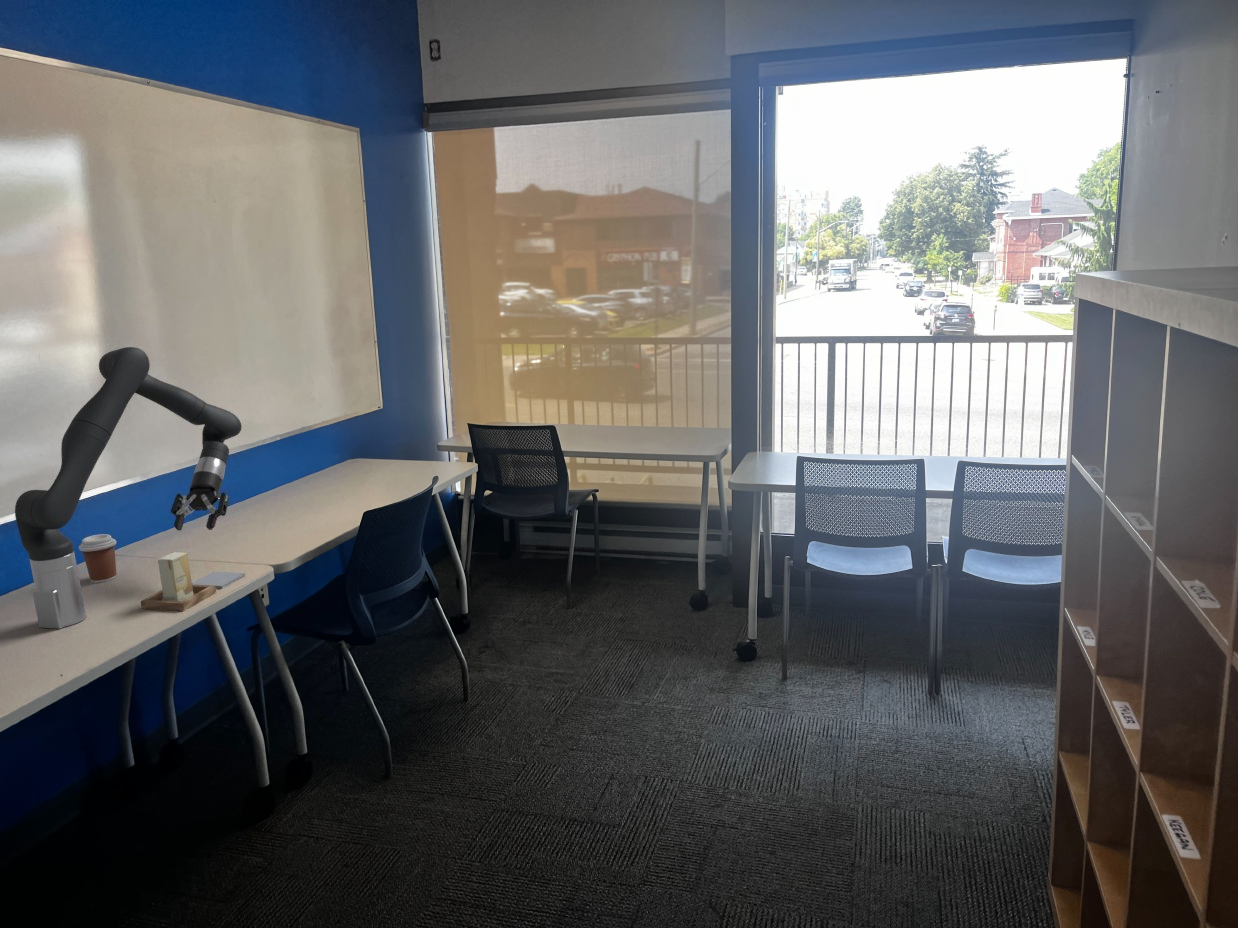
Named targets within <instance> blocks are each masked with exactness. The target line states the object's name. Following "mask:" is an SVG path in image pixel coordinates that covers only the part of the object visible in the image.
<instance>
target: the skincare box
mask: <svg viewBox="0 0 1238 928" xmlns="http://www.w3.org/2000/svg"><path fill="white" fill-rule="evenodd" d="M188 555H189V554H188V552H178V551H177V552H175V551H174V552H172V553H170V554H166V555H165V556H162V557H160V558H158V559H157V563H158V569H159V576H160V582H161V583H160V584H161V590H162V591H163V598H164V599H163V600H165V601H184V600H186V599H187V598H189V597H191V596H193V595H195V593H193V588H192V583H193V582H192V576H191V575H192V574H191V568H190V562H189V556H188Z"/></svg>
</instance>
